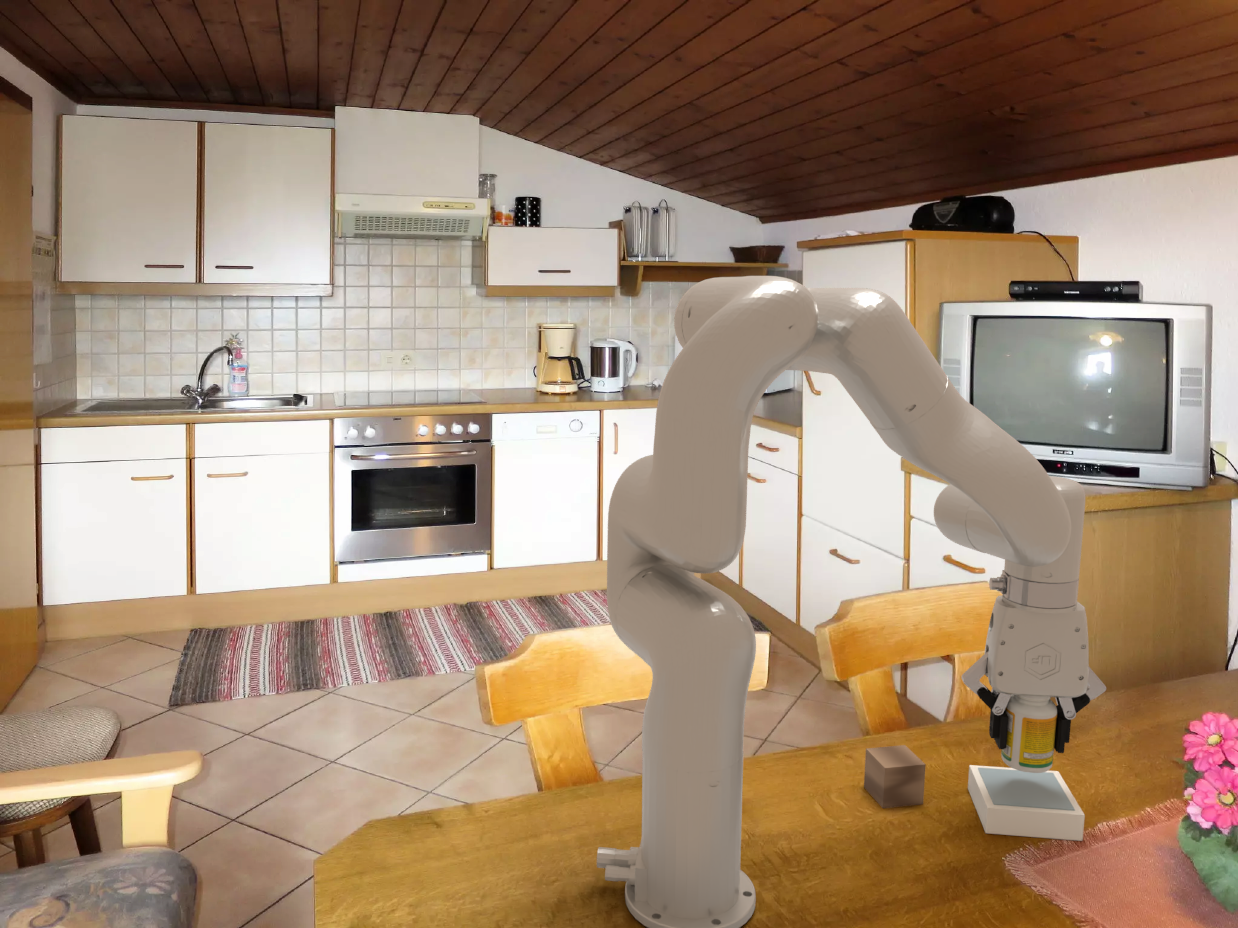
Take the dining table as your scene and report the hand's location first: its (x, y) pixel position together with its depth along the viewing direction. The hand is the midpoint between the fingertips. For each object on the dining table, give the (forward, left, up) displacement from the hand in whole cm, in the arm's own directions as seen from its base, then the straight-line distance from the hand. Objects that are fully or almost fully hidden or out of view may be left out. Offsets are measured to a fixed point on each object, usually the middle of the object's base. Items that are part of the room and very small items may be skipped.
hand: (1028, 744), depth 111 cm
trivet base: (0, 0, -8) cm, 8 cm away
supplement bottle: (0, 0, -2) cm, 2 cm away
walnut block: (-14, +2, -8) cm, 17 cm away
